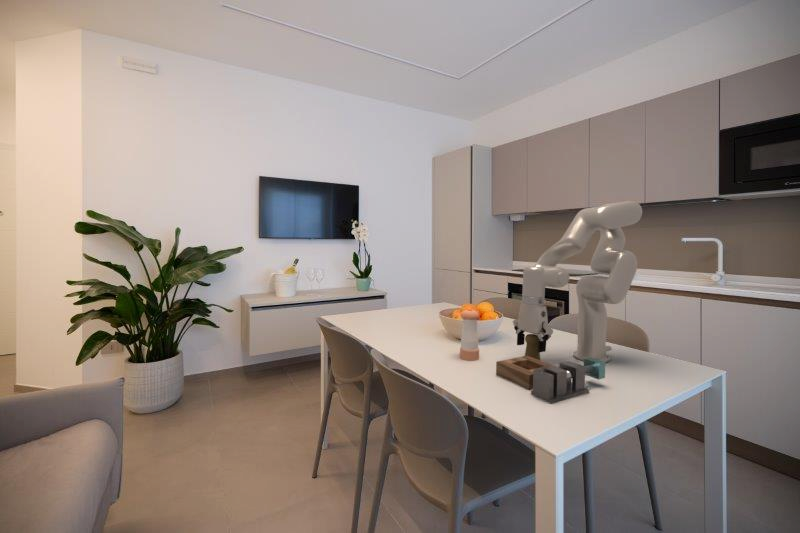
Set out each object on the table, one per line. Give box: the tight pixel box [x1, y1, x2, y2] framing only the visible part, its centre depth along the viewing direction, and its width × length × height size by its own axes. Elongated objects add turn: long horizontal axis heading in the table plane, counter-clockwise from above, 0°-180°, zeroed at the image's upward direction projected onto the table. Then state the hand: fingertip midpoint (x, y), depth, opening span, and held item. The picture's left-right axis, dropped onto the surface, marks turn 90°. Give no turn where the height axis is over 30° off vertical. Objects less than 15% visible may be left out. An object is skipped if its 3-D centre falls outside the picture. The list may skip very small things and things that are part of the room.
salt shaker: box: [459, 307, 480, 361], centre depth 137 cm, size 7×7×19 cm
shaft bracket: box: [530, 360, 590, 405], centre depth 104 cm, size 16×7×8 cm, turn 118°
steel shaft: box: [567, 357, 607, 380], centre depth 107 cm, size 17×5×5 cm, turn 118°
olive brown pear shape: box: [524, 333, 541, 360], centre depth 129 cm, size 6×6×11 cm
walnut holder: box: [495, 355, 559, 391], centre depth 116 cm, size 14×14×4 cm
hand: (530, 348), depth 129 cm, fingers open, 9 cm apart
